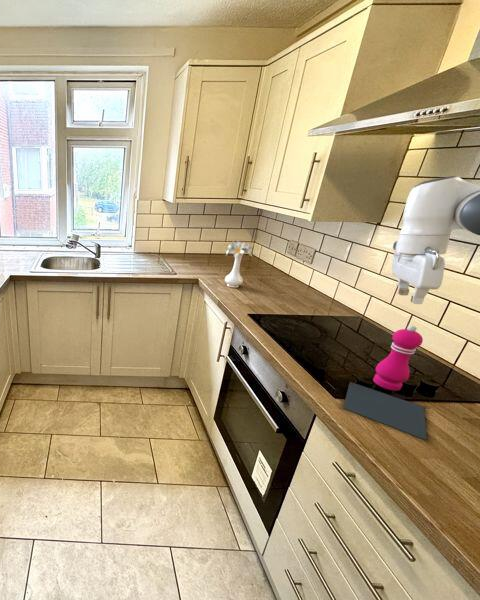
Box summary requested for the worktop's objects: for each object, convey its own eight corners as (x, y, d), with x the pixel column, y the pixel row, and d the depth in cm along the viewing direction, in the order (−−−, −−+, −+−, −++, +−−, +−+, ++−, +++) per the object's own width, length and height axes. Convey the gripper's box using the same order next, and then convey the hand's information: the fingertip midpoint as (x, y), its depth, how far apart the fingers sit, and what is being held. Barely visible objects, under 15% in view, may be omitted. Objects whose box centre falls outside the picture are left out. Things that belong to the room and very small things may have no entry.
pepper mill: (408, 388, 94) (437, 329, 86) (394, 394, 91) (422, 333, 84) (379, 375, 100) (404, 318, 93) (365, 380, 98) (389, 322, 90)
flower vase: (239, 281, 185) (248, 238, 176) (248, 291, 169) (259, 245, 159) (216, 279, 188) (223, 237, 178) (223, 290, 171) (231, 244, 161)
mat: (423, 407, 87) (423, 406, 87) (426, 440, 76) (426, 439, 76) (349, 382, 97) (349, 381, 97) (343, 408, 86) (343, 407, 86)
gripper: (460, 250, 69) (445, 310, 73) (422, 242, 86) (411, 291, 90) (420, 250, 72) (407, 308, 76) (391, 242, 89) (381, 290, 93)
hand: (409, 298), depth 83 cm, fingers open, 8 cm apart
